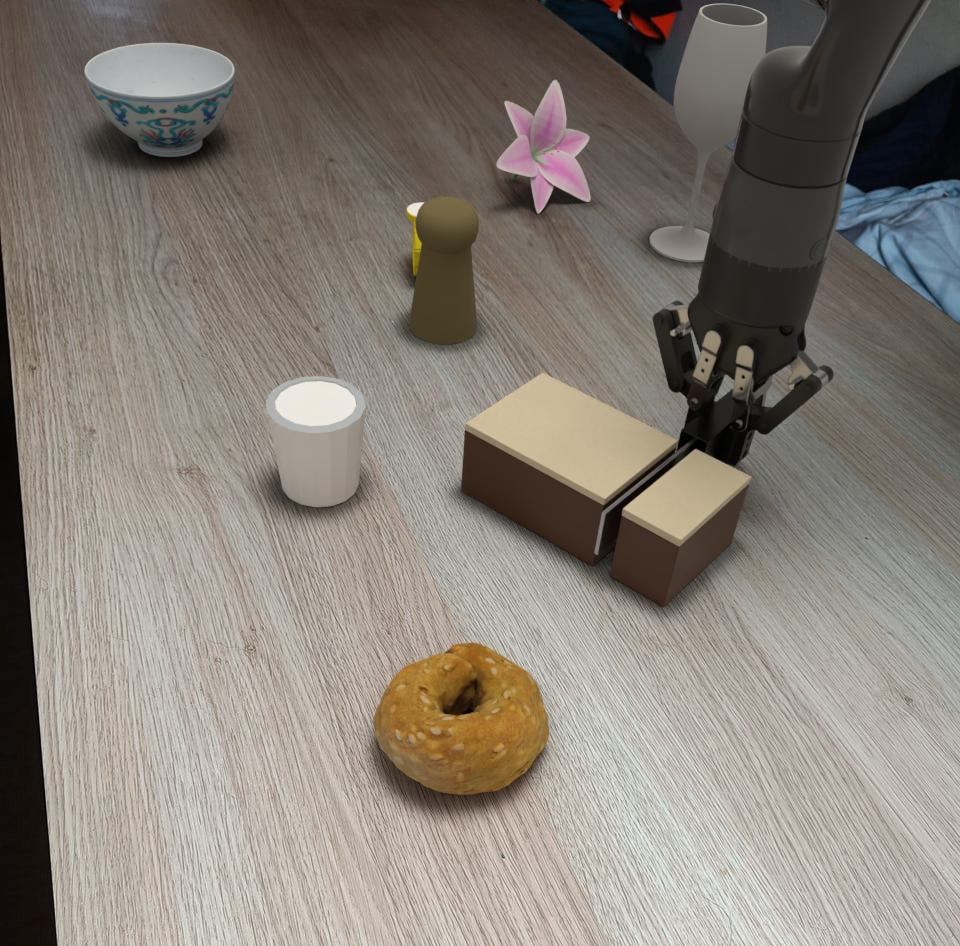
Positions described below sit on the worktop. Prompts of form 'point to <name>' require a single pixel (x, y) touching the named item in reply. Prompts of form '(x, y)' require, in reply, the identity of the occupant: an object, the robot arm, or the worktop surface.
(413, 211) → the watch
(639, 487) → the knife
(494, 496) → the cake loaf
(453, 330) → the chess pawn piece
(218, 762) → the worktop surface
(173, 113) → the chinaware
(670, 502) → the cake slice
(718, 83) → the wineglass
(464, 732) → the bagel
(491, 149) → the worktop surface
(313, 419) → the cup of milk
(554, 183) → the lily
